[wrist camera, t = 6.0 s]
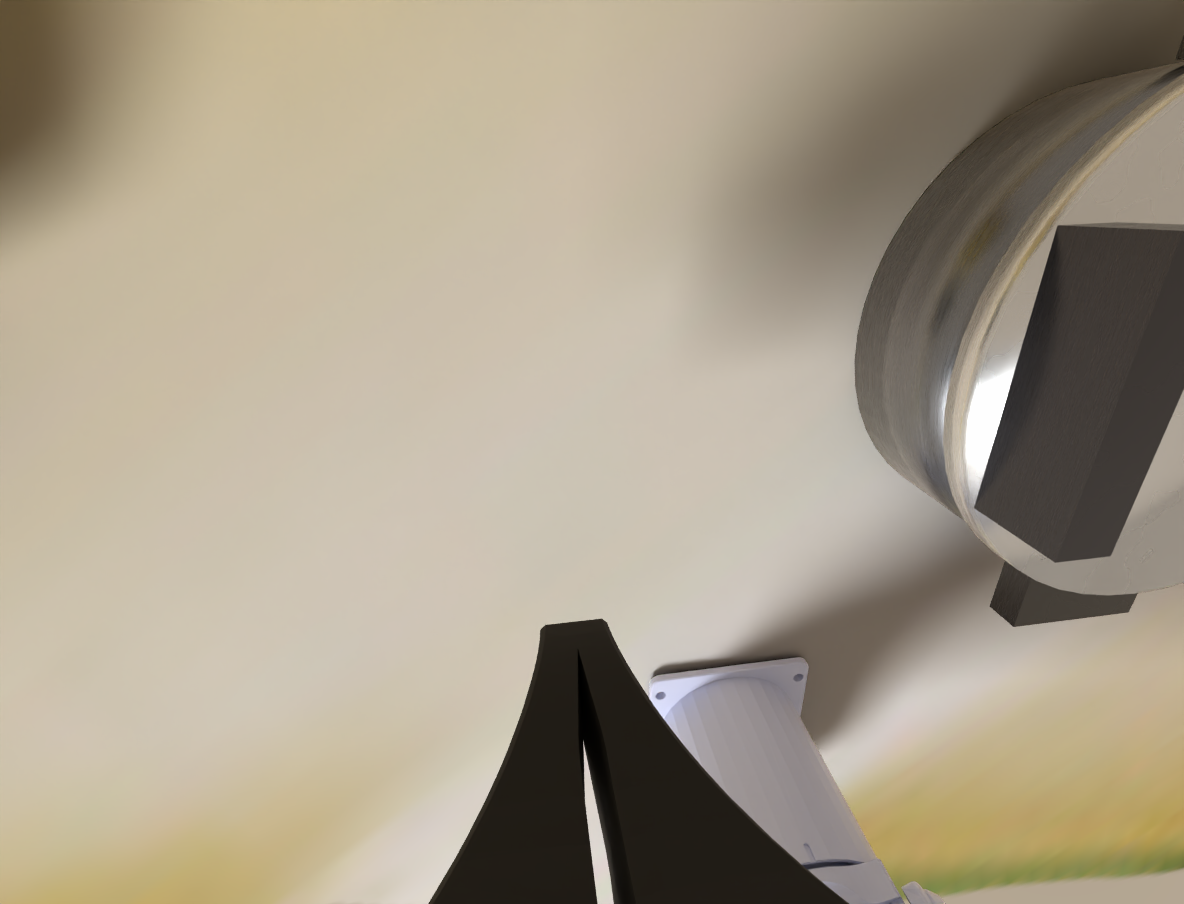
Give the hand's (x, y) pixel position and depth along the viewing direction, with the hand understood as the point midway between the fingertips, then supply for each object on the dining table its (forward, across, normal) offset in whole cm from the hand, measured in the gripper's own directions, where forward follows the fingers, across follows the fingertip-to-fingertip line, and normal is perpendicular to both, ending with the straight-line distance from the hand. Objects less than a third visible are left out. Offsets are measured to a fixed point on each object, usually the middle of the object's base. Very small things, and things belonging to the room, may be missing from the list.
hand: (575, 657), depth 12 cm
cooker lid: (+5, -20, -4) cm, 21 cm away
